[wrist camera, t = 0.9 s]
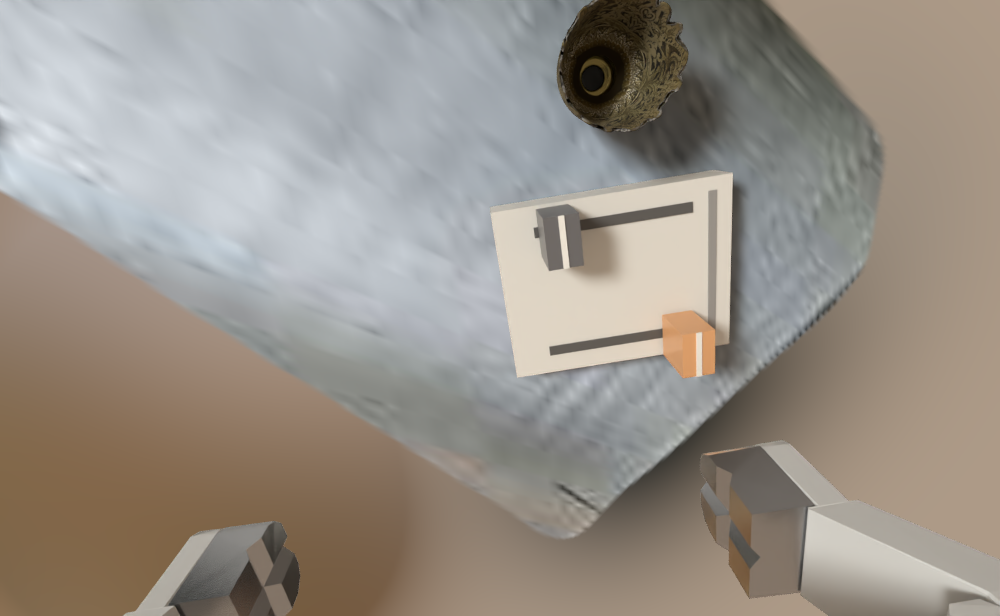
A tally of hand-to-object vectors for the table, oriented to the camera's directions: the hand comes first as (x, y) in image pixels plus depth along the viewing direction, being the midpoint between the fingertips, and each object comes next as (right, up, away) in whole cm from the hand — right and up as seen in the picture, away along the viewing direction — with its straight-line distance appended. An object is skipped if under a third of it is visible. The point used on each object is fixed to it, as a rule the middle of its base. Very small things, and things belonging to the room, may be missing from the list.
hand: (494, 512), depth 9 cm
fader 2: (+15, +2, +29) cm, 33 cm away
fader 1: (+4, +10, +26) cm, 28 cm away
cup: (+7, +21, +25) cm, 34 cm away
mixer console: (+9, +7, +30) cm, 33 cm away
